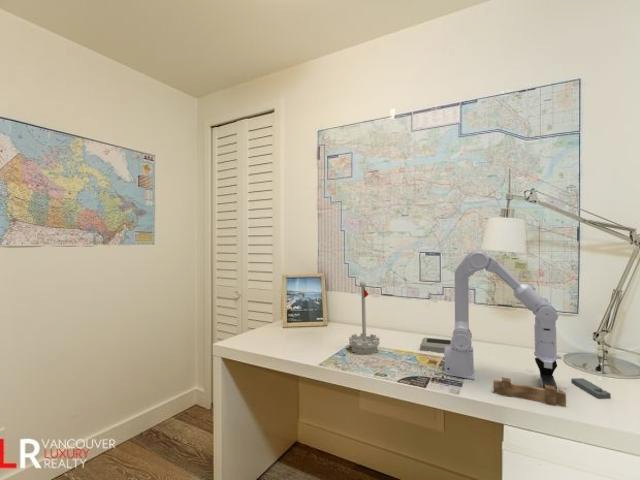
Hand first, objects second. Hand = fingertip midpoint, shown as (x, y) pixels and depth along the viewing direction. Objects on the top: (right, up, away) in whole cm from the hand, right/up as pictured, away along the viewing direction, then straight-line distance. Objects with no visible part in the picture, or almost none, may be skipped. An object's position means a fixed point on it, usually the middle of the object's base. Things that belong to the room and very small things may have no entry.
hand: (546, 382), depth 103 cm
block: (-3, -1, -5) cm, 6 cm away
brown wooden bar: (-10, -1, -6) cm, 12 cm away
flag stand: (-53, -2, +37) cm, 65 cm away
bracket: (+11, -1, -3) cm, 12 cm away
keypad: (-21, -2, +36) cm, 42 cm away
